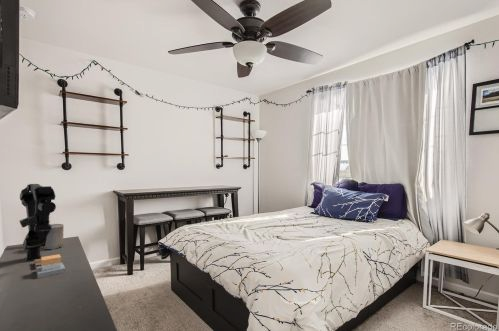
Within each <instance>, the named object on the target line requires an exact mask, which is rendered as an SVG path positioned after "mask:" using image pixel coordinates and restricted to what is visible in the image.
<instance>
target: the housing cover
mask: <svg viewBox="0 0 499 331" xmlns="http://www.w3.org/2000/svg"><path fill="white" fill-rule="evenodd" d="M60 262H62V256H61V254H59V253H58V254H53V255H47V256H46V255H45V256H41V264H42V266H44V265H49V264H55V263H60Z"/></svg>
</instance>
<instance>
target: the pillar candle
mask: <svg viewBox="0 0 499 331" xmlns="http://www.w3.org/2000/svg"><path fill="white" fill-rule="evenodd" d="M46 238H47V239H46V244H45V246H43V248H44V249H53V250H56V249H55V248H58V249H60V248H59V247H61V248H63V247H64V224H63V223H53V224H52V223H51V230H50V232H49V233H48V235H47V237H46ZM62 246H63V247H62ZM44 249H43V250H44Z"/></svg>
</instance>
